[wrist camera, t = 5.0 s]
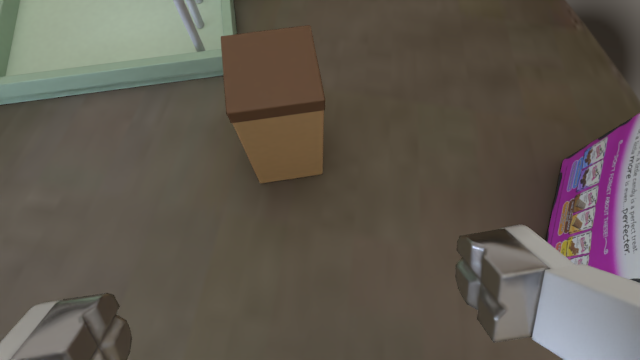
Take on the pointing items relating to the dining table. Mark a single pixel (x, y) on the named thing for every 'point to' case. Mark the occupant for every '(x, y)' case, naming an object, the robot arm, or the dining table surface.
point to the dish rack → (107, 44)
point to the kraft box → (276, 101)
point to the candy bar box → (601, 204)
